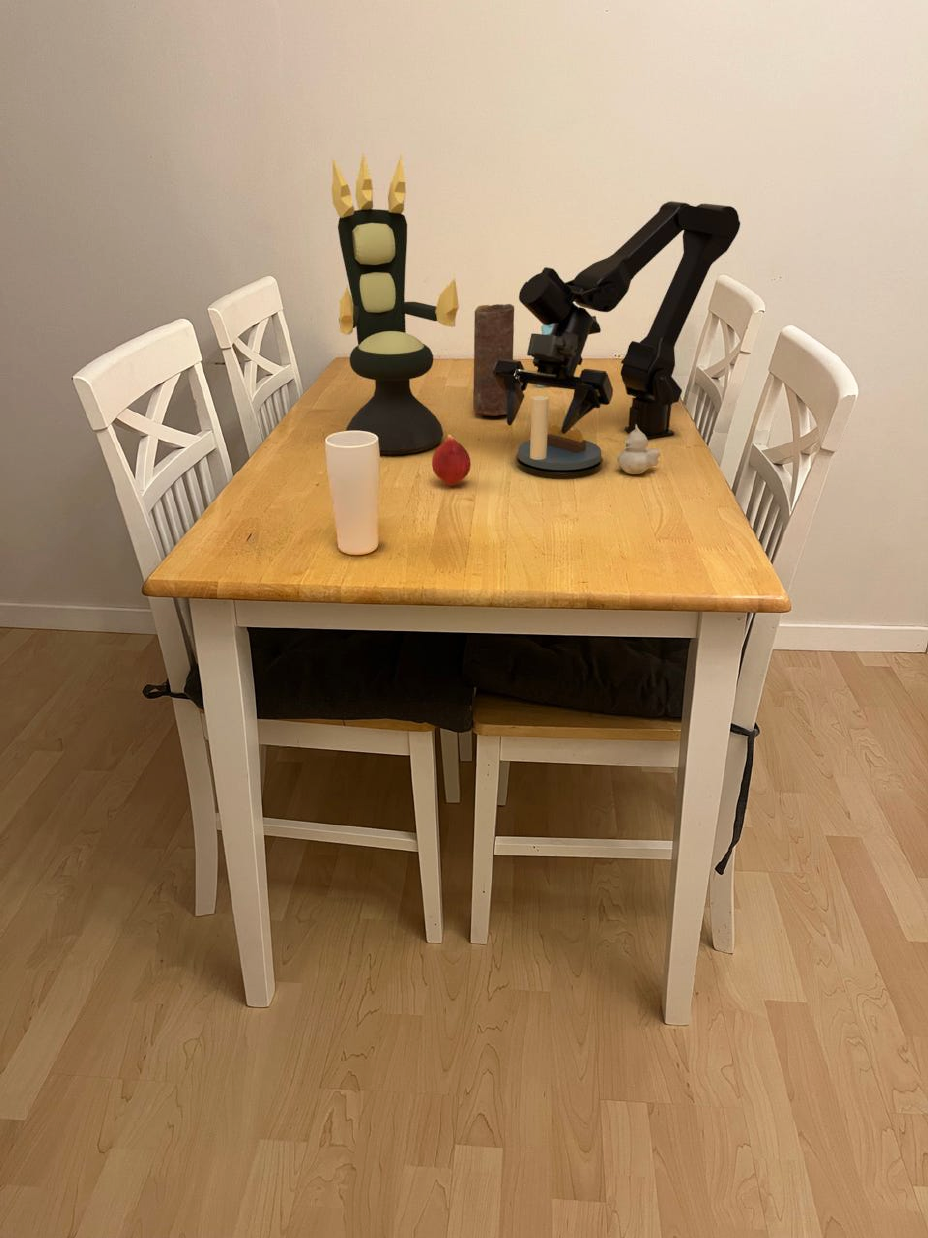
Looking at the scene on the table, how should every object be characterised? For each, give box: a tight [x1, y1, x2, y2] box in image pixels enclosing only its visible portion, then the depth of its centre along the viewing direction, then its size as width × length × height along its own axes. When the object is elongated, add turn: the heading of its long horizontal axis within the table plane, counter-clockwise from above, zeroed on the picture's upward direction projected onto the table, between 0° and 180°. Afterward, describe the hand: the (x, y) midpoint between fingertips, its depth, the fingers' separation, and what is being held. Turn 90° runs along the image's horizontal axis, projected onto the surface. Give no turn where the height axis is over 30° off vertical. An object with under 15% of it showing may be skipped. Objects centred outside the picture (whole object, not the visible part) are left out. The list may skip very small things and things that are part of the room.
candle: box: [472, 303, 515, 417], centre depth 176 cm, size 8×7×20 cm
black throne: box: [330, 152, 460, 456], centre depth 157 cm, size 19×22×45 cm
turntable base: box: [515, 454, 604, 480], centre depth 156 cm, size 14×14×1 cm
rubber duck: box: [617, 425, 661, 475], centre depth 151 cm, size 5×7×8 cm
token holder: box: [517, 395, 602, 470], centre depth 153 cm, size 13×13×11 cm
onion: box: [431, 434, 471, 487], centre depth 146 cm, size 6×6×8 cm
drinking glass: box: [324, 430, 381, 556], centre depth 123 cm, size 7×7×15 cm
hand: (535, 428), depth 149 cm, fingers open, 9 cm apart
